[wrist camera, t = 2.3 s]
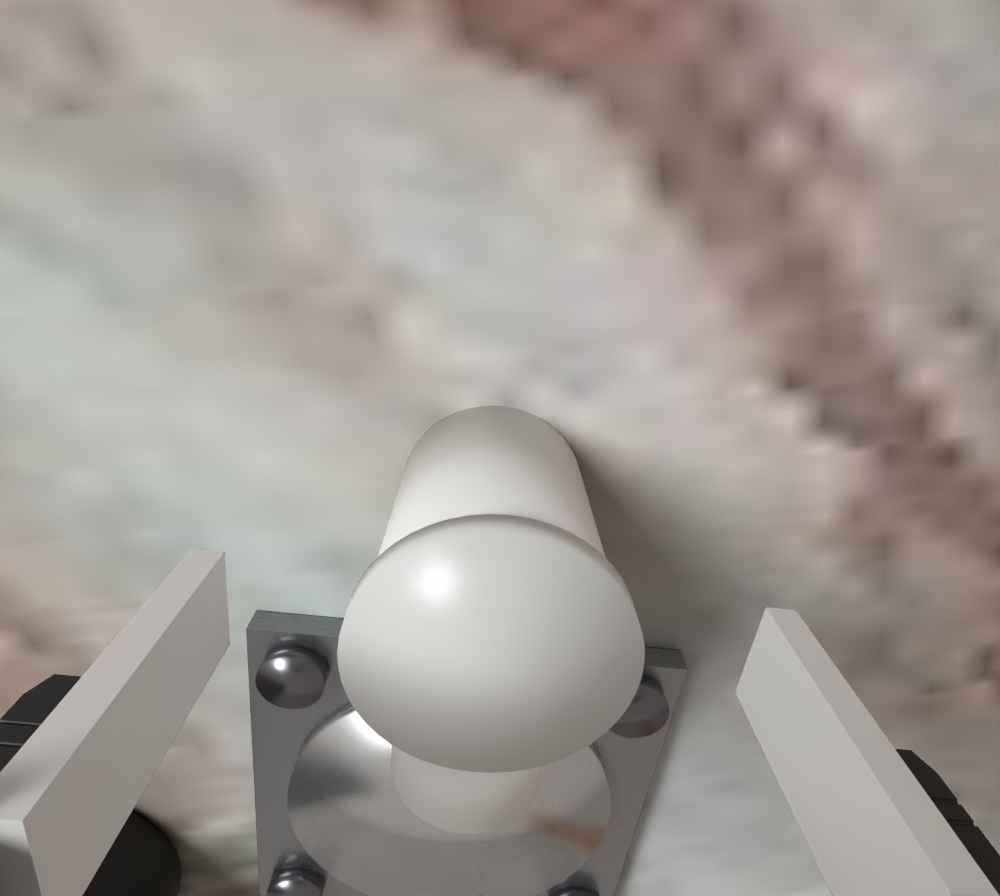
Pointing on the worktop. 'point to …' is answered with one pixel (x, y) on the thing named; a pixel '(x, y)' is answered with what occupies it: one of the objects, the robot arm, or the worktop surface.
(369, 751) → the duct flange
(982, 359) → the worktop surface
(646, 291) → the worktop surface
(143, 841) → the mug
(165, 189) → the worktop surface
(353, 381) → the worktop surface
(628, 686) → the elbow
